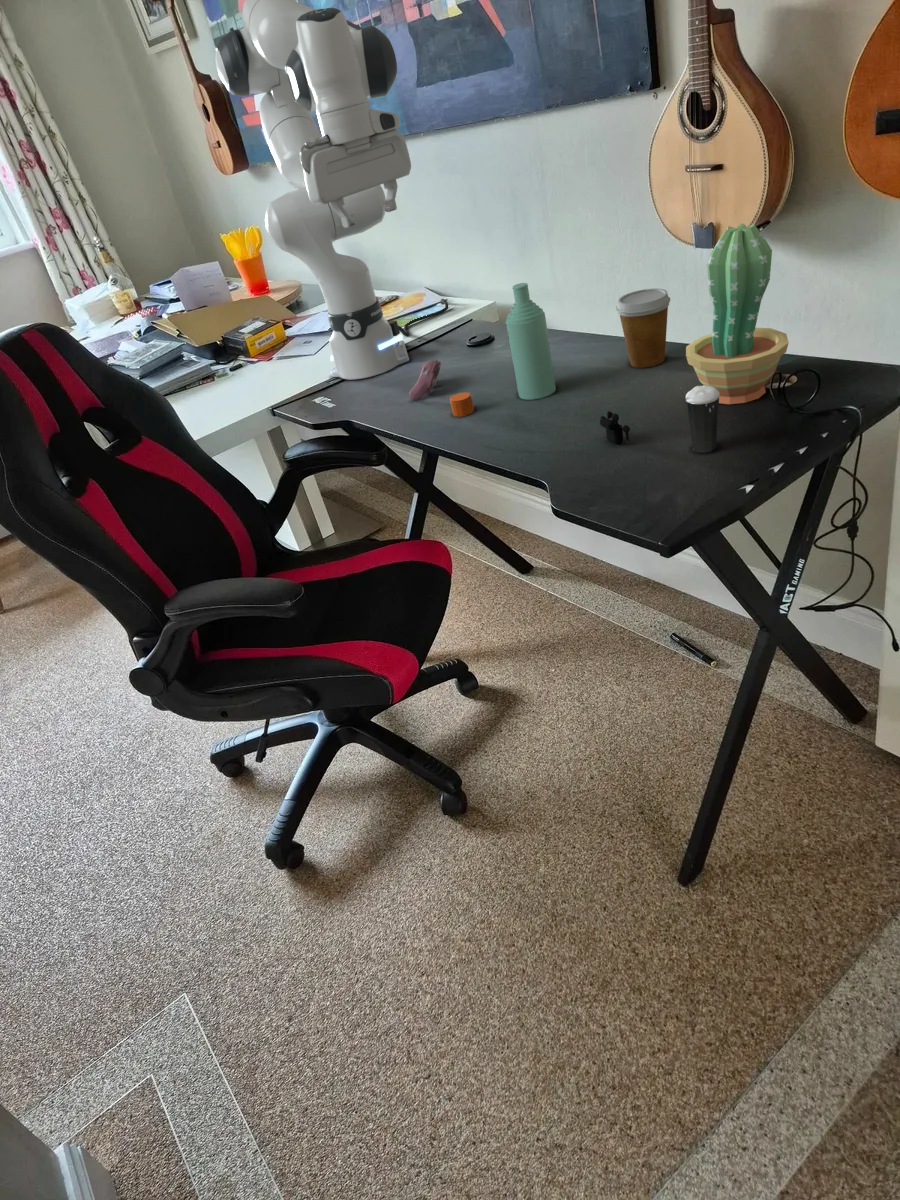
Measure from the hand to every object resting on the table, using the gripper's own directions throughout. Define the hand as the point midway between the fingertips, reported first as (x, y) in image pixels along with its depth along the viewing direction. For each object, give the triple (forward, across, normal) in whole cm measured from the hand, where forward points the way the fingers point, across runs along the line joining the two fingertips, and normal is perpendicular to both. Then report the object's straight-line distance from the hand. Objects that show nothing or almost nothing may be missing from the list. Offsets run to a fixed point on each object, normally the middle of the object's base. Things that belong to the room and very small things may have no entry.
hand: (370, 218), depth 136 cm
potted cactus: (+34, +23, -56) cm, 70 cm away
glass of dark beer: (+34, +4, -63) cm, 72 cm away
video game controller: (+34, +5, +2) cm, 35 cm away
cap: (+34, 0, -14) cm, 37 cm away
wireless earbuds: (+34, 0, -49) cm, 60 cm away
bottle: (+34, +12, -22) cm, 42 cm away
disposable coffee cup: (+34, +30, -33) cm, 57 cm away
